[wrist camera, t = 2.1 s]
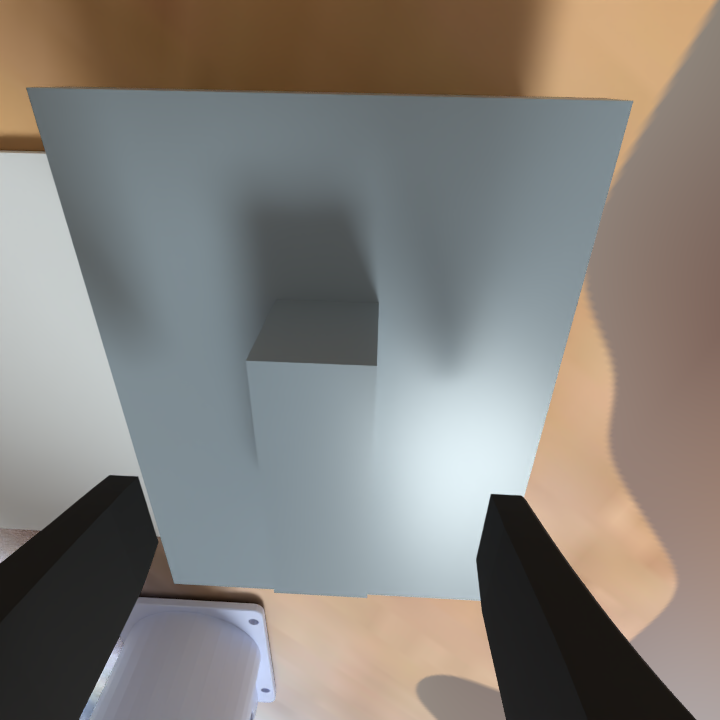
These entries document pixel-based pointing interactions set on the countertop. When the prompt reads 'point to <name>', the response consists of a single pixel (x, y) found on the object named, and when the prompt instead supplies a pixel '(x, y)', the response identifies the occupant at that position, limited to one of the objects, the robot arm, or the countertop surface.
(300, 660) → the countertop surface
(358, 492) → the lid
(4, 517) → the mat
